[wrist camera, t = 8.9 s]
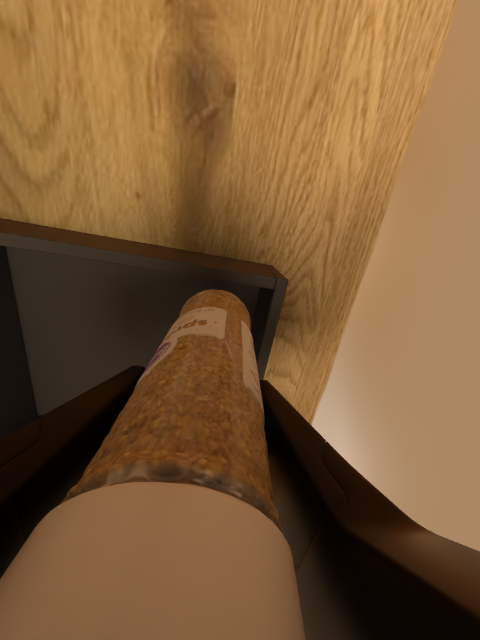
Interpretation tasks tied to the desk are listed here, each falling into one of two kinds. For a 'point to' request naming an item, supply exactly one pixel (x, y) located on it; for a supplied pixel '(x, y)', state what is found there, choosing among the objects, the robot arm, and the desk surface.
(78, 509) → the sprinkles bottle
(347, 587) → the robot arm
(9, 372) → the dark grey tray
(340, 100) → the desk surface
